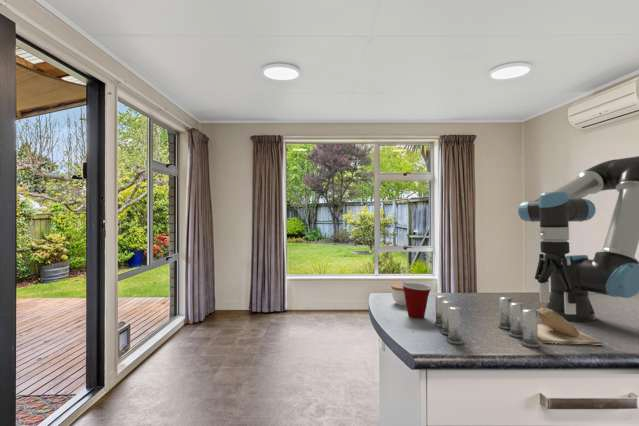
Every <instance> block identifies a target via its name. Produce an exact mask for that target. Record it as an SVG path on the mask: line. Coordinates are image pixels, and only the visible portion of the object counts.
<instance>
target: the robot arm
mask: <svg viewBox="0 0 639 426" xmlns="http://www.w3.org/2000/svg"><path fill="white" fill-rule="evenodd" d="M610 190H611V191H613V190H615V191H617V192H618V196H617V200H616V203H615V206H614V210H613V213H612V216H611V219H610V223H609V226H608V230H607V233H606V237H605V240H604V243H603V247H602V249H601V250H599V251H596V252H595V254H594V257H593V259H590V258H589V257H588V255H587V254H575V255H568V254H570V251H571V250H570V242H569V240H570V226H569V222H580V223H581V222H586V221H589V220H591V219H592V218H593V217H594V216H595V214H596V210H597V209H596V206H595V203H594V202H592V201H591V200H589V199H587V198H585V197H587V196H588V195H594V194H597V193H599V192H604V191H610ZM517 213H518V216H519V218H520V219H521V220H522V221H524V222H531V223H534V222H535V223H537V222H539V227H540V228H539V230H538V231H539V232H538V233H539V234H540V235H539V236H540V240H541V241H540V246H539V247H540V252H541V253H539V255H538V256H539V258H538V263H537V267H536V270H535V275H534V279H535V280H537V283H538V284H539V285H538V286H539V287H538V288H539V303H541V304H542V303H543V304H544V303H545V304H546V305H545V308H549V309H550V310H551V309H552V310H554V311H555V312H557V313H558V314H559V315H560V316H562V317H563V318H564V319H566V320H567V321H573V322H593V321H592V320H594V321H596V313H595V311H594V307H593V305H592V303H591V300H590V298H589V297H590V296H589V293H595V294H600V295H606V296H608V297H609V296H610V297H612V298H613V297H614V298H625V299H630V298H633V297H635V296H636V295H637V294H639V260H638V259H637V258H636V257H635V255H636V253H637V249H638V246H639V155H638V156H632V157H631V156H630V157H623V158H618V159H610V160H606V161H603V162H600V163H598V164H596V165H593V166H592V167H590V168H587V169H586V170H584V171H582V172H579V174H578V175H577V176H576V177H575V178H574V179H572V180H570V181H569V182H567V183H565V184H563V185H561V186H559V187H558V188H556V189H554V190H552V191H549V192H548V191H547V192H542V193H540V194H539V197H538V198H537V199H535V200H528V201H523V202H522V203H520V205H519V206H518V210H517Z"/></svg>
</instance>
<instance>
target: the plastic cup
mask: <svg viewBox="0 0 639 426" xmlns="http://www.w3.org/2000/svg"><path fill="white" fill-rule="evenodd" d="M401 284H402V286H403V289H404V294H405V300H406V311H407V316H408V318H411V319H415V320H422V319H425V315H426V310H427V304H428V299H429V296H430V292H431V290H432V286H431V285H425V284H421V283H414V282H405V283H403V282H402V283H401Z"/></svg>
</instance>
